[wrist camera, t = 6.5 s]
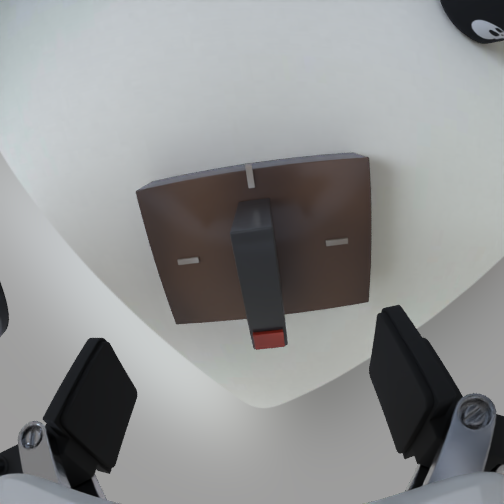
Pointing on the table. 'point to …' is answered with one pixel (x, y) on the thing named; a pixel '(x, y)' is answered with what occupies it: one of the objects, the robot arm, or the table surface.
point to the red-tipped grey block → (259, 273)
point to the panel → (285, 229)
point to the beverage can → (477, 18)
